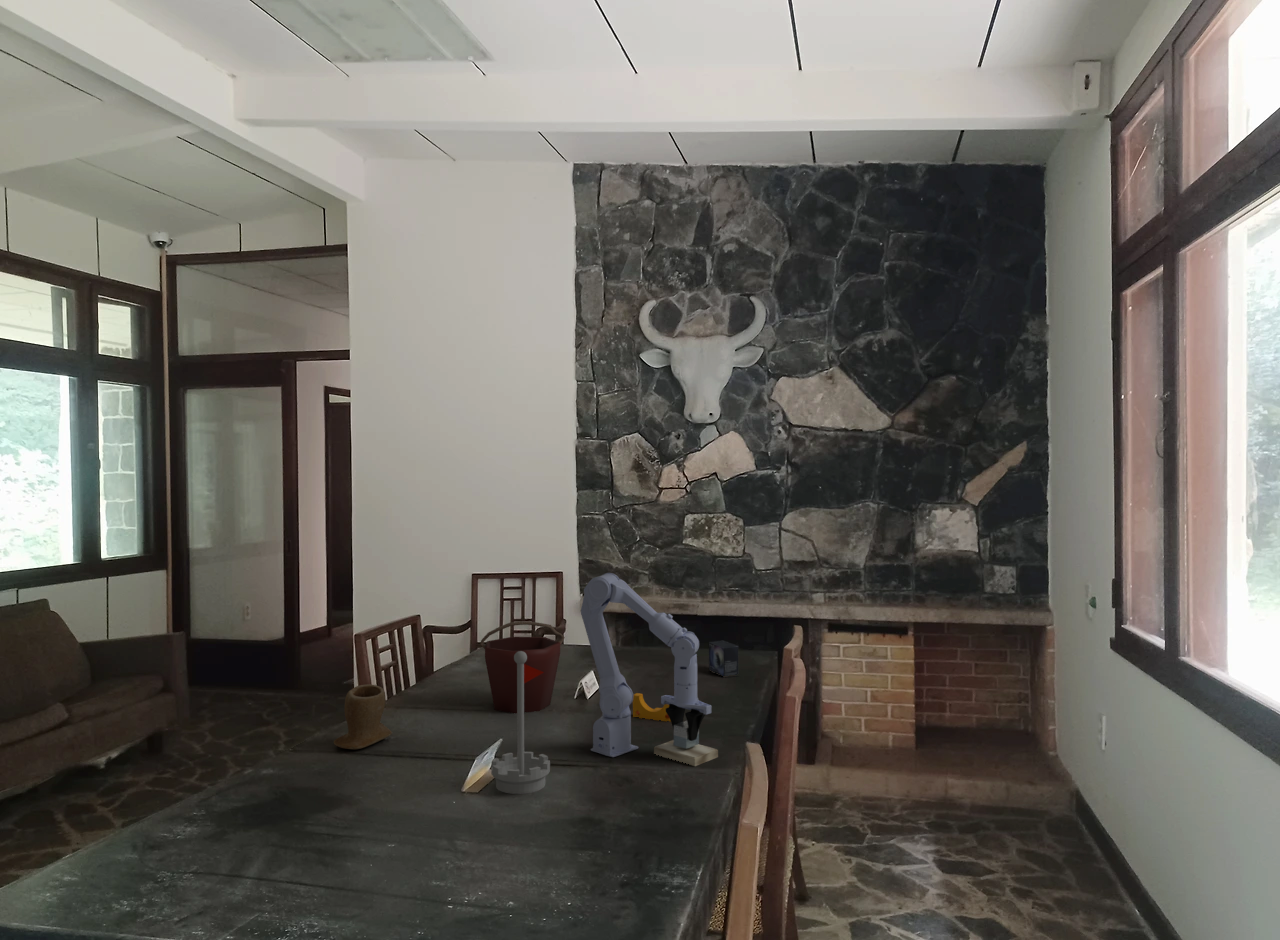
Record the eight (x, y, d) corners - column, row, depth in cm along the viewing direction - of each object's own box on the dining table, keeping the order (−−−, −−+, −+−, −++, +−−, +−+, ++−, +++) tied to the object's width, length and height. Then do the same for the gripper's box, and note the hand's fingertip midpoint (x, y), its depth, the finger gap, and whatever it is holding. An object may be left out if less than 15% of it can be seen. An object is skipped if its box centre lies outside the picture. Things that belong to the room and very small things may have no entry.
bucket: (568, 697, 270) (568, 616, 270) (555, 717, 248) (554, 629, 248) (491, 695, 273) (491, 615, 273) (471, 715, 251) (470, 628, 251)
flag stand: (494, 798, 188) (494, 659, 188) (488, 777, 200) (488, 647, 200) (554, 792, 191) (554, 655, 191) (544, 772, 204) (544, 643, 204)
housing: (686, 748, 212) (686, 728, 212) (673, 745, 215) (673, 724, 215) (698, 744, 216) (699, 723, 216) (686, 740, 218) (686, 720, 218)
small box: (707, 671, 304) (707, 641, 304) (723, 669, 307) (723, 639, 307) (722, 678, 295) (722, 647, 295) (739, 676, 297) (739, 645, 297)
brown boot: (362, 756, 215) (362, 695, 215) (327, 749, 221) (326, 690, 221) (404, 738, 229) (404, 681, 229) (370, 732, 234) (370, 677, 234)
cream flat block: (695, 766, 207) (694, 758, 207) (654, 754, 216) (654, 746, 216) (718, 757, 214) (718, 748, 214) (677, 745, 223) (677, 737, 223)
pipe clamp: (677, 718, 248) (677, 695, 248) (672, 722, 244) (672, 699, 244) (638, 713, 252) (638, 691, 252) (632, 717, 248) (632, 695, 248)
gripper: (719, 684, 213) (719, 740, 213) (673, 675, 223) (673, 728, 223) (701, 690, 208) (701, 747, 208) (655, 680, 218) (655, 734, 218)
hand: (685, 737), depth 215 cm, fingers closed on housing, 4 cm apart
